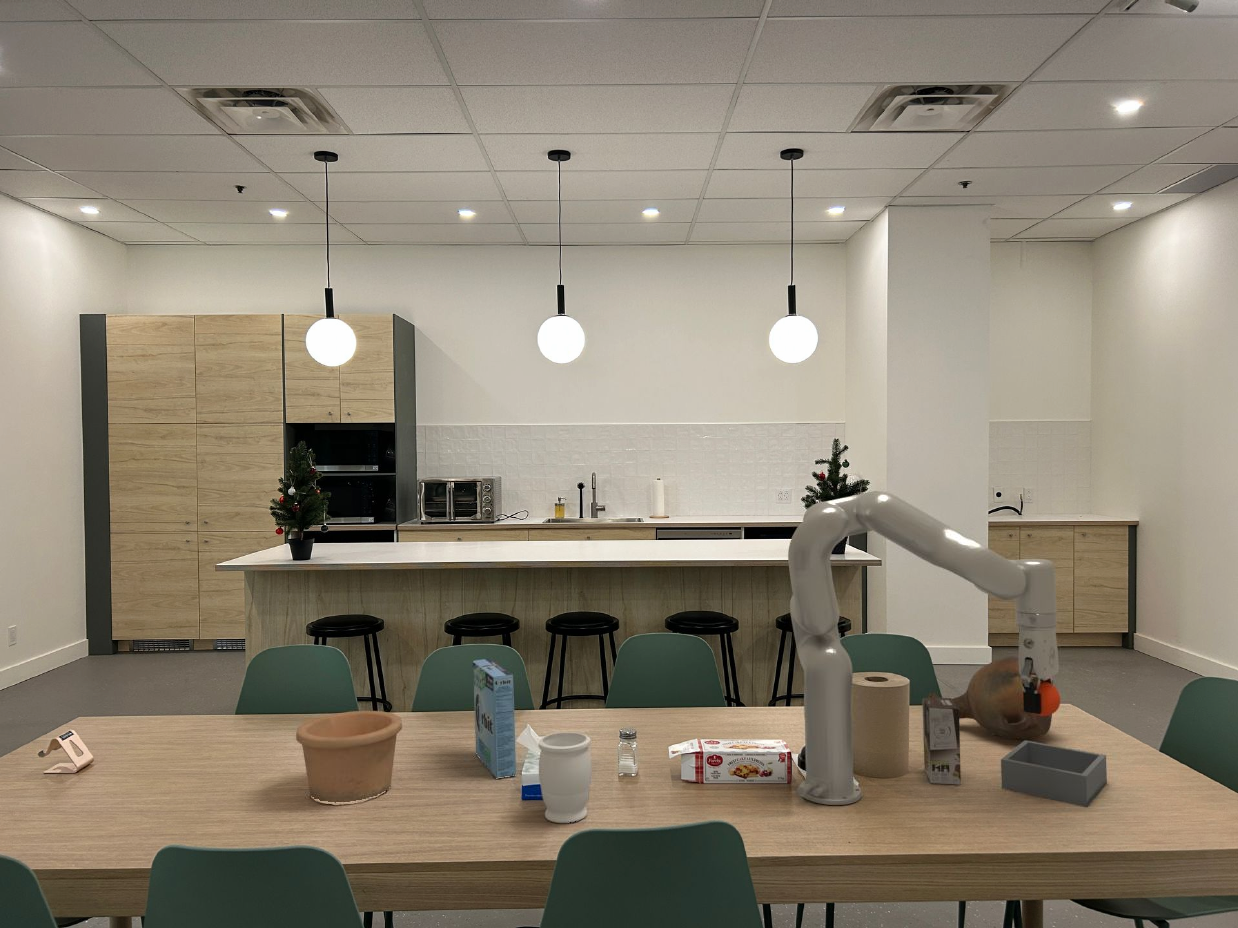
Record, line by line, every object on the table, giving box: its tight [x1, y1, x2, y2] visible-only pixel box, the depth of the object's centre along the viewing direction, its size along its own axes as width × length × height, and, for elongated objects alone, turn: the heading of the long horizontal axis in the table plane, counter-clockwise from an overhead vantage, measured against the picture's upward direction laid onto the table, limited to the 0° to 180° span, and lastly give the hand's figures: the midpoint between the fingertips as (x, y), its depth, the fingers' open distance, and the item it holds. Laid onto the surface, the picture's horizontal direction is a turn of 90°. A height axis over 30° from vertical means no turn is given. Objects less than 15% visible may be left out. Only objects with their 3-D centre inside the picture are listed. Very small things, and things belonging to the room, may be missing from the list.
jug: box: [928, 656, 1058, 740], centre depth 213 cm, size 20×20×30 cm
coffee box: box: [921, 697, 962, 786], centre depth 184 cm, size 9×6×16 cm
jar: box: [537, 731, 593, 824], centre depth 168 cm, size 11×10×15 cm
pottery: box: [295, 710, 403, 803], centre depth 184 cm, size 22×22×14 cm
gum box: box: [472, 658, 517, 779], centre depth 198 cm, size 20×5×23 cm, turn 23°
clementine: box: [1016, 680, 1061, 716], centre depth 171 cm, size 8×7×7 cm
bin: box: [1000, 739, 1108, 808], centre depth 177 cm, size 16×16×6 cm
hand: (1038, 707), depth 171 cm, fingers closed on clementine, 7 cm apart
